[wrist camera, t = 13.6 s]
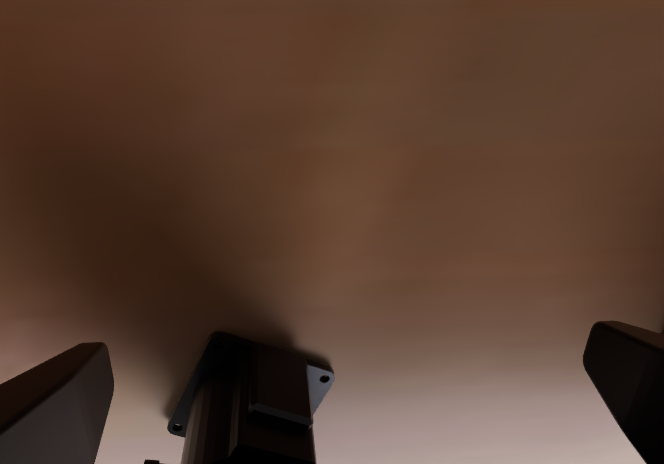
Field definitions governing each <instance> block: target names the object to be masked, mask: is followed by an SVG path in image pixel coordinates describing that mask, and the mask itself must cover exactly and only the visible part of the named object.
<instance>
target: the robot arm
mask: <svg viewBox="0 0 664 464" xmlns="http://www.w3.org/2000/svg"><path fill="white" fill-rule="evenodd" d="M217 341H221V342H223V344H221V345H218V344H216V343H215V342H217ZM583 364H584V368H585V370H586V372H587V374H588V375H589V377H590V379H591V380H592V382H593V384H594V385H595V387H596V389H597V390H598V392H599V394H600V395H601V397H602V399H603V400H604V402H605V404H606V405H607V407H608V409H609V410H610V412H611V414H612V415H613V417H614V419H615V420H616V422H617V423H618V425H619V427H620V428H621V430H622V431H623V433H624V434H625V435H626V437H627V438H628V440H629V441H630V442H631V444H632V445H633V446H634V448H635V449H636V450H637V452H638V453H639V454H640V456H641V457H642V458H643V460H644V461H645V462H646V464H664V335H663V334H659V333H656V332H653V331H649V330H646V329H642V328H639V327H636V326H632V325H629V324H625V323H622V322H619V321H599V322H596V323H595V324H594V325H593V326H592V328H591V331H590V334H589V338H588V341H587V344H586V347H585V351H584V354H583ZM323 375H328V376H327V377H321V376H323ZM334 379H335V377H334V371H333V369H332V368H331V367H329V366H326V365H323V364H320V363H317V362H314V361H311V360H308V359H305V358H304V357H301V356H298V355H295V354H291V353H288V352H285V351H282V350H279V349H276V348H273V347H270V346H267V345H264V344H261V343H255V342H252V341H249V340H246V339H243V338H240V337H237V336H234V335H231V334H228V333H224V332H215V333H213V334H211V336H210V337H209V339H208V341H207V343H206V345H205V347H204V349H203V351H202V353H201V355H200V357H199V359H198V361H197V363H196V365H195V367H194V369H193V372H192V374H191V376H190V378H189V380H188V382H187V384H186V386H185V388H184V390H183V392H182V394H181V396H180V398H179V400H178V402H177V404H176V406H175V408H174V410H173V412H172V414H171V416H170V418H169V422H168V427H167V429H168V431H169V432H170V433H171V434H174V435H177V436H181V437H185V443H184V448H183V454H182V460H181V464H316V455H315V445H314V435H313V425H312V424H313V414H314V413H315V411H316V409H317V408H318V406H319V405H320V403H321V401H322V400H323V398H324V397H325V395H326V393H327V392H328V390H329V389H330V387H331V385H332V384H333V382H334ZM113 391H114V378H113V373H112V368H111V362H110V357H109V352H108V348H107V346H106V344H105V343H103V342H94V343H81V344H78V345H76V346H74V347H73V348H71V349H69V350H67V351H65V352H63V353H61V354H59V355H57V356H55V357H53V358H51V359H49V360H47V361H45V362H43V363H41V364H39V365H37V366H36V367H34V368H32V369H30V370H28V371H26V372H24V373H22V374H20V375H18V376H16V377H14V378H12V379H10V380H8V381H6V382H4V383H2V384H0V464H94V462H95V459H96V456H97V452H98V448H99V445H100V441H101V437H102V434H103V430H104V426H105V422H106V419H107V415H108V411H109V408H110V404H111V400H112V396H113ZM175 424H180V425H175ZM144 464H162V463H159V461H158V460H145V462H144Z"/></svg>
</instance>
